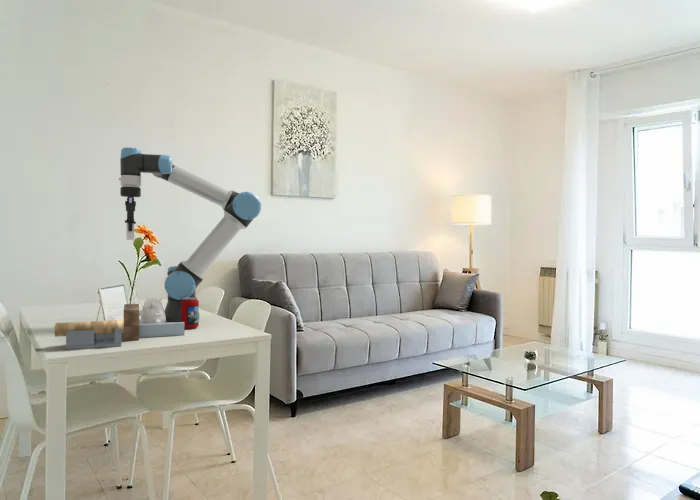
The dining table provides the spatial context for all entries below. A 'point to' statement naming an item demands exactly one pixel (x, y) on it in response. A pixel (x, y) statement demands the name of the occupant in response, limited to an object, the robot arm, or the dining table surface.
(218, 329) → the dining table surface
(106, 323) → the dowel
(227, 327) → the dining table surface
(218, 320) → the dining table surface
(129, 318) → the brown wooden block
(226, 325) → the dining table surface
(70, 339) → the cradle
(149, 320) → the figurine
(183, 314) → the beverage can
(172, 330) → the rail
